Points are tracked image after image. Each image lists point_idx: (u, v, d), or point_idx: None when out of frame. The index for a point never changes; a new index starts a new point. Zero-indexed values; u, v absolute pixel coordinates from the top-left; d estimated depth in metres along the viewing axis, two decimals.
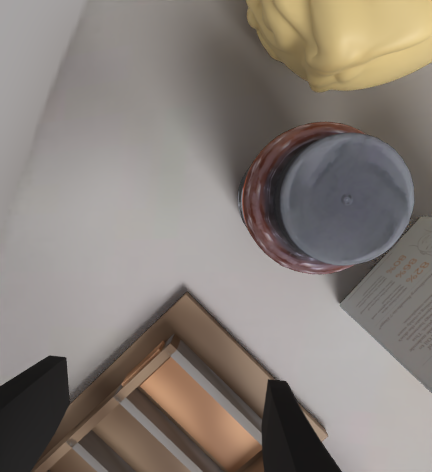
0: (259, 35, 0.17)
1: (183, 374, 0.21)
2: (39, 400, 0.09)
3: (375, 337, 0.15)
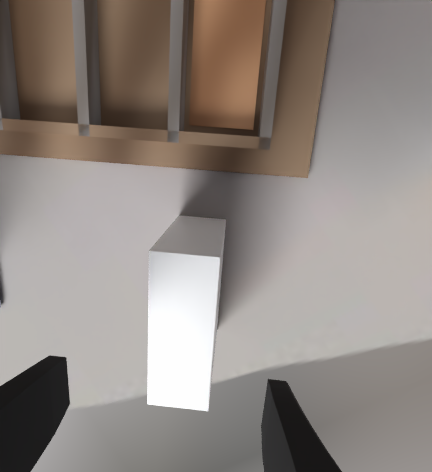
0: None
1: None
2: (39, 400, 0.09)
3: None
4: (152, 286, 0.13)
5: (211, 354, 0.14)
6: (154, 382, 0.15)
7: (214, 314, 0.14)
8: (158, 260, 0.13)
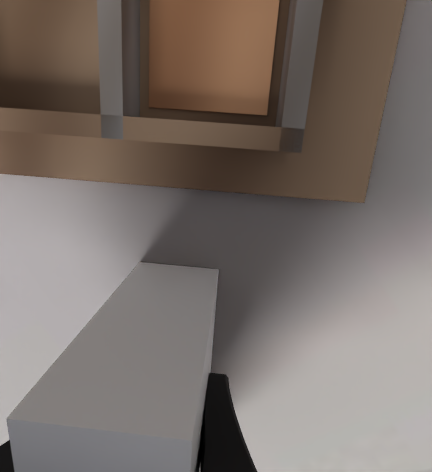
0: None
1: None
2: None
3: None
4: None
5: None
6: None
7: None
8: (33, 440, 0.05)
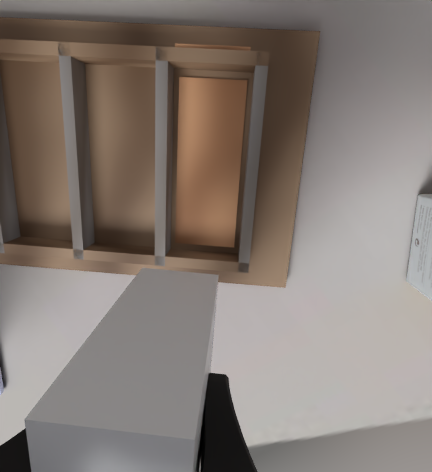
0: None
1: (229, 110, 0.17)
2: None
3: None
4: None
5: None
6: None
7: None
8: (49, 438, 0.05)
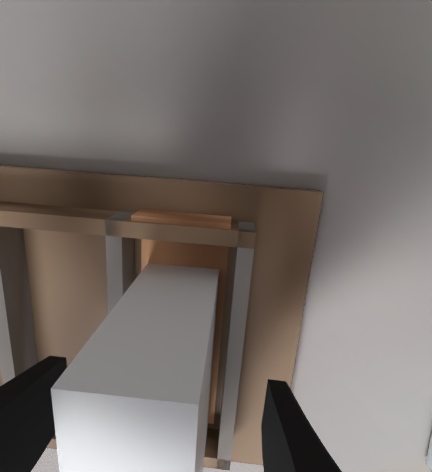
0: None
1: None
2: (39, 400, 0.09)
3: None
4: (64, 450, 0.07)
5: None
6: None
7: None
8: (72, 406, 0.06)
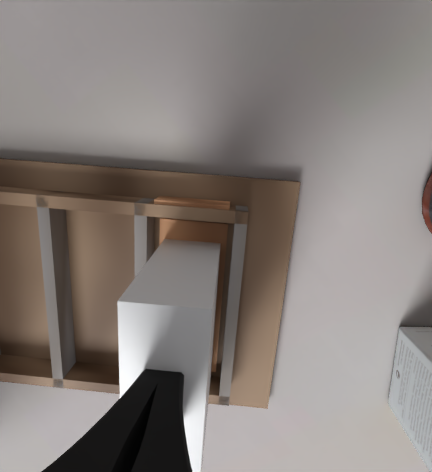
0: None
1: None
2: None
3: None
4: (123, 346, 0.10)
5: (202, 428, 0.11)
6: None
7: (205, 380, 0.10)
8: (130, 313, 0.10)
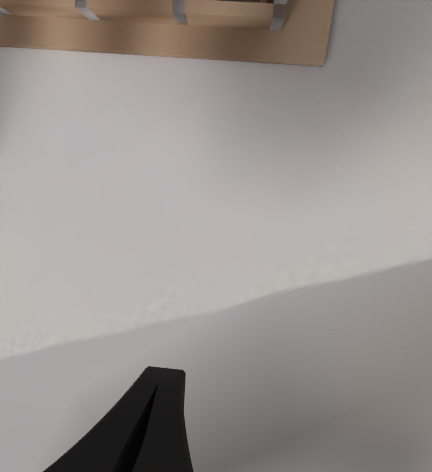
0: None
1: None
2: None
3: None
4: None
5: None
6: None
7: None
8: None
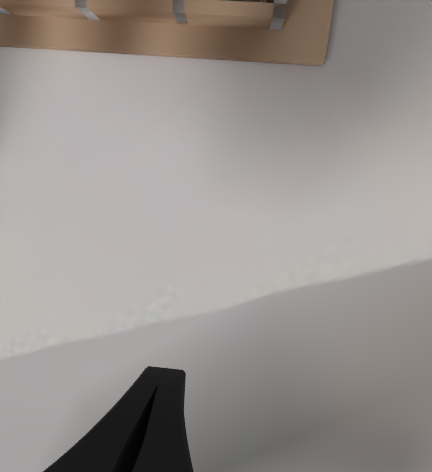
0: None
1: None
2: None
3: None
4: None
5: None
6: None
7: None
8: None
